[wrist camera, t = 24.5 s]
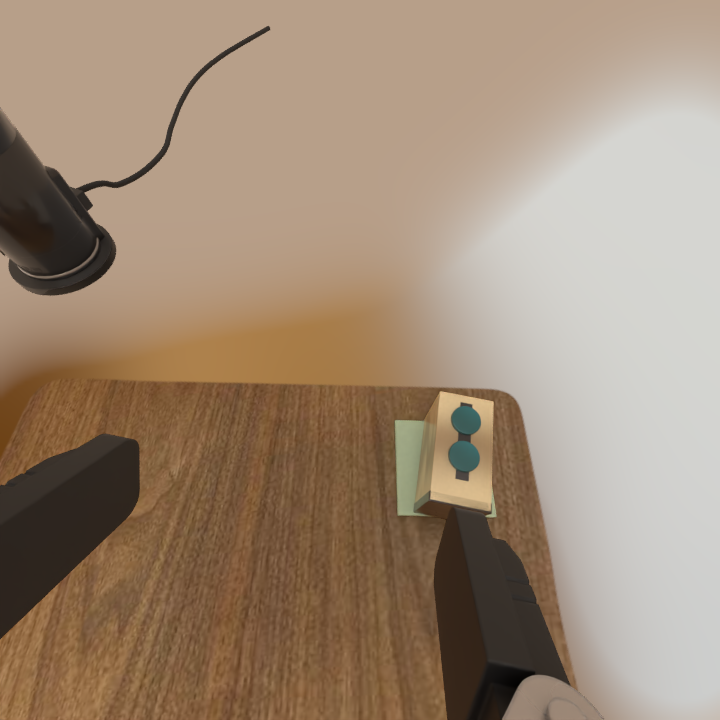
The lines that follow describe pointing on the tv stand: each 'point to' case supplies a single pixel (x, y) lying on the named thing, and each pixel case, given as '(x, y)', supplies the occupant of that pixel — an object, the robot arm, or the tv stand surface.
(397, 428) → the pad
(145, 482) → the tv stand surface
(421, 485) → the holder
